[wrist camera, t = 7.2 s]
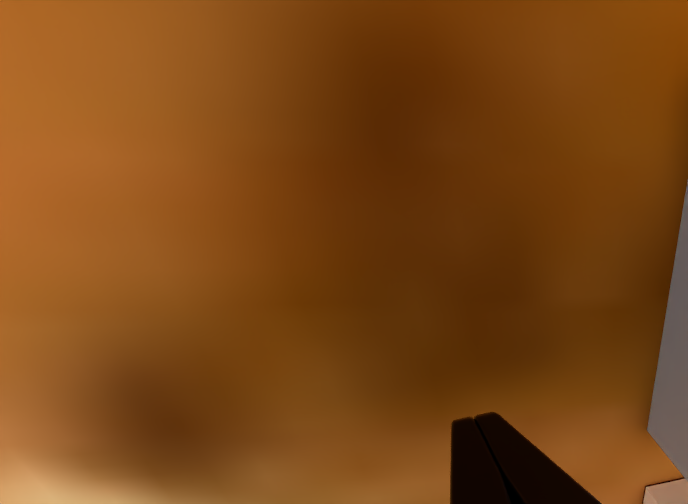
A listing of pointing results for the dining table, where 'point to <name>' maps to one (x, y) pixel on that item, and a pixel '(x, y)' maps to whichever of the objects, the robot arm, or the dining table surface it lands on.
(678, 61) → the dining table surface
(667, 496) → the u-shaped frame
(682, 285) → the t block
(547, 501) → the robot arm
